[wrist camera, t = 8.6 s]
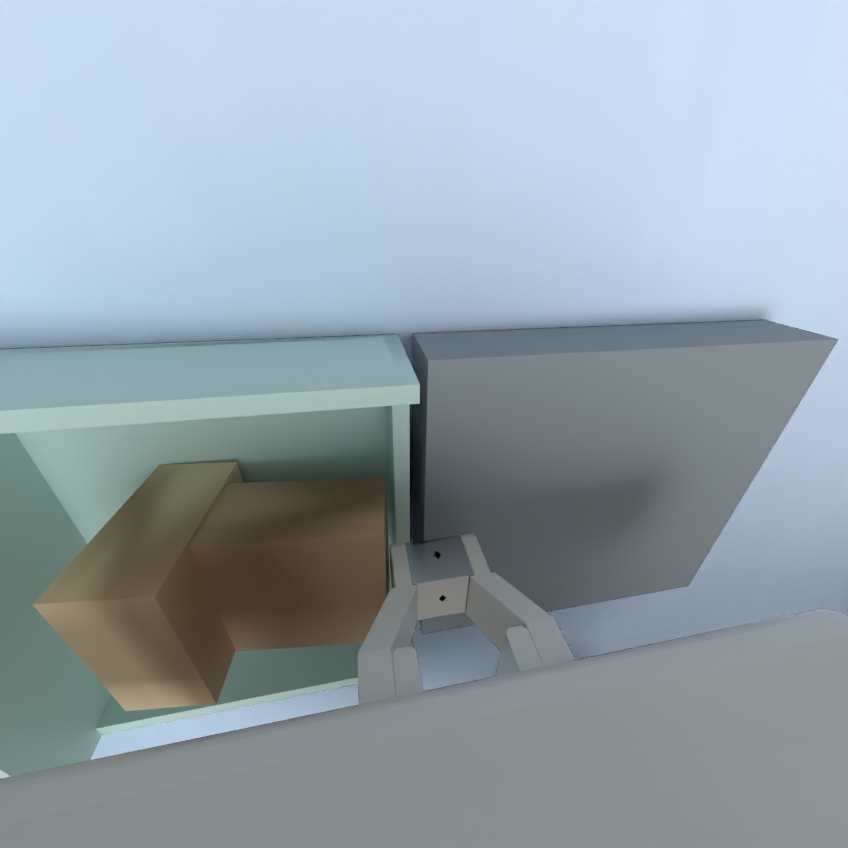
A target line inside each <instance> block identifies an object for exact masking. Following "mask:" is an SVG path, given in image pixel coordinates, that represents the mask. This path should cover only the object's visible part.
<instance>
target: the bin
mask: <svg viewBox="0 0 848 848" xmlns="http://www.w3.org/2000/svg"><path fill="white" fill-rule="evenodd" d="M410 404H420V384H419V381H418V379H417V377H416V374H415V372H414V370H413V367H412V365H411V363H410V361H409V358H408V356H407V354H406V351H405V349H404V347H403V344H402V342H401V340H400V337H399V335H398V334H388V335H362V336H336V337H310V338H284V339H258V340H232V341H206V342H180V343H154V344H129V345H103V346H77V347H51V348H25V349H0V779H2V778H7V777H12V776H17V775H21V774H26V773H31V772H36V771H41V770H46V769H51V768H55V767H60V766H65V765H70V764H75V763H80V762H84V761H89V760H90V759H91V757H92V755H93V753H94V751H95V748H96V746H97V744H98V742H99V740H100V738H101V735H103V734H108V733H113V732H118V731H123V730H128V729H133V728H138V727H144V726H149V725H154V724H159V723H164V722H169V721H174V720H179V719H184V718H189V717H194V716H199V715H204V714H209V713H214V712H219V711H224V710H229V709H234V708H239V707H244V706H249V705H254V704H259V703H264V702H269V701H274V700H279V699H284V698H290V697H295V696H300V695H305V694H310V693H315V692H320V691H325V690H330V689H335V688H340V687H345V686H350V685H355V684H358V655H357V654H358V652H359V650H360V648H361V646H362V644H363V643H353V644H339V645H325V646H310V647H296V648H282V649H267V650H253V651H239V652H236V651H235V654H234V656H233V659H232V662H231V665H230V668H229V671H228V673H227V676H226V679H225V682H224V685H223V687H222V690H221V693H220V696H219V699H218V702H217V704H209V705H196V706H184V707H171V708H158V709H146V710H133V711H125V710H124V708H123V707H122V706H121V705H120V704H119V703H118V702H117V701H116V699H115V698H114V697H113V696H112V695H111V694H110V693H109V691H108V690H107V689H106V688H105V687H104V686H103V685H102V683H101V682H100V681H99V680H98V679H97V678H96V677H95V675H94V674H93V673H92V672H91V671H90V670H89V669H88V667H87V666H86V665H85V664H84V663H83V662H82V661H81V659H80V658H79V657H78V656H77V655H76V654H75V653H74V651H73V650H72V649H71V648H70V647H69V646H68V645H67V643H66V642H65V641H64V640H63V639H62V638H61V637H60V635H59V634H58V633H57V632H56V631H55V630H54V629H53V627H52V626H51V625H50V624H49V623H48V622H47V621H46V619H45V618H44V617H43V616H42V615H41V614H40V613H39V611H38V610H37V609H36V608H35V607H34V606H33V605H32V604H33V603H34V602H35V601H36V600H37V599H38V598H39V597H40V596H41V595H42V593H43V592H44V591H45V590H46V589H47V588H48V587H49V586H50V585H51V584H52V582H53V581H54V580H55V579H56V578H57V577H58V576H59V575H60V574H61V573H62V571H63V570H64V569H65V568H66V567H67V566H68V565H69V564H70V563H71V562H72V560H73V559H74V558H75V557H76V556H77V555H78V554H79V553H80V552H81V551H82V549H83V548H84V547H85V546H86V545H87V544H88V543H89V542H90V541H91V540H92V538H93V537H94V536H95V535H96V534H97V533H98V532H99V531H100V530H101V529H102V527H103V526H104V525H105V524H106V523H107V522H108V521H109V520H110V519H111V517H112V516H113V515H114V514H115V513H116V512H117V511H118V510H119V509H120V508H121V506H122V505H123V504H124V503H125V502H126V501H127V500H128V499H129V498H130V497H131V495H132V494H133V493H134V492H135V491H136V490H137V489H138V488H139V487H140V486H141V484H142V483H143V482H144V481H145V480H146V479H147V478H148V477H149V476H150V475H151V473H152V472H153V471H154V470H155V469H156V468H157V467H158V466H159V465H162V464H193V463H223V462H237V463H238V467H239V470H240V473H241V477H242V480H243V483H250V482H277V481H304V480H331V479H358V478H385V487H386V507H387V527H388V546H389V545H390V544H398V543H406V542H410ZM389 566H390V551H389ZM391 588H392V584H391V572H390V589H391ZM409 646H411V647H413V641H412V639H411V642H410V645H409Z"/></svg>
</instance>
